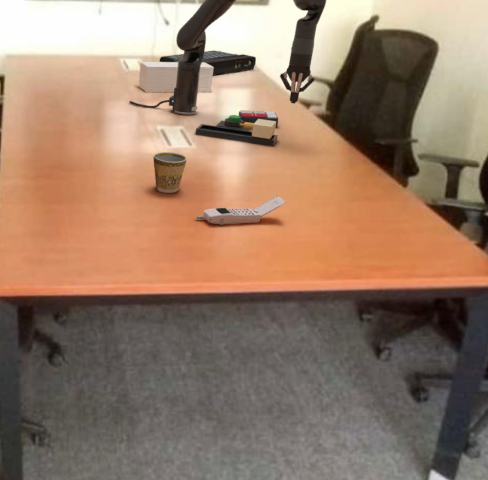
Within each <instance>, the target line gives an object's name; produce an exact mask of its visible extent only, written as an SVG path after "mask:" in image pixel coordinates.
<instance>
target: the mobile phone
mask: <svg viewBox="0 0 488 480" xmlns="http://www.w3.org/2000/svg"><path fill="white" fill-rule="evenodd" d="M285 204H287V202H286V200H285V199H283V197H282V198H281V197H280V196H278V195H276V196H274V197H272V198H270V199H269V200H266V201H265V202H263V203H261V204H260V205H258V206H257V207H255V208H253V207H251V208H226V207H214V208H208V209H204V211H203V215H197V216H196V220H206V221H207V222H208V223H209V224H213V225H221V226H223V225H236V224H237V225H238V224H239V225H240V224H256V223H259V222H260V220H261V218H263V217H264V216H266V215H268V214H269V213H271V212H273V211H274V210H277V209H278V208H280V207H282V206H284V205H285Z"/></svg>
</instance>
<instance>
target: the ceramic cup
mask: <svg viewBox="0 0 488 480" xmlns="http://www.w3.org/2000/svg"><path fill="white" fill-rule="evenodd" d="M186 163H187V156H186V155H184V154H181V153H177V152H170V151H169V152H168V151H165V152H164V151H162V152H161V151H160V152H157V153H154V154H153V168H154V178H155V179H154V181H155V188H156V190H157V191H158V192H160V193H164V194H174V193H177V192H179V189H180V186H181V182H182V178H183V174H184V171H185V168H186Z"/></svg>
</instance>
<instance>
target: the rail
mask: <svg viewBox="0 0 488 480" xmlns="http://www.w3.org/2000/svg"><path fill="white" fill-rule="evenodd" d="M194 135H197V136H202V137H203V136H204V137H208V138H209V137H210V138H215V139H216V138H217V139H223V140H228V141H234V142H235V141H236V142H240V143H241V142H242V143H248V144H255V145H261V146H268V147H274V146H275V144H276V143H277V142H278V138H279V137H278V136H279V135H278V134H273V136H272V138H271V139H265V138H258V137H253V136H252V130H248V131H246V130H239V129H232V128H226V127H219V126H216V125H211V124H205V123H201V124H199V125H198V126H197V127H196V128H195V134H194Z"/></svg>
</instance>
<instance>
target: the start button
mask: <svg viewBox="0 0 488 480" xmlns="http://www.w3.org/2000/svg"><path fill="white" fill-rule="evenodd" d="M228 118H229V121H232V122H240V116H239V115H238V114H237V115H236V114H231V115H229V116H228Z"/></svg>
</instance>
